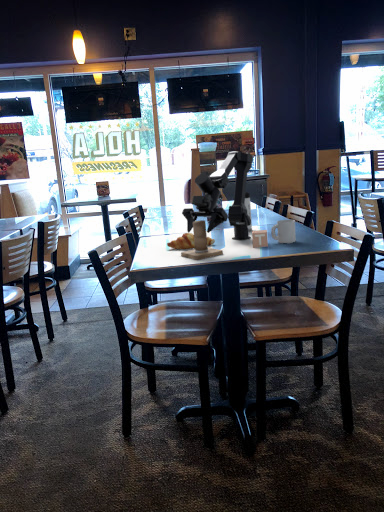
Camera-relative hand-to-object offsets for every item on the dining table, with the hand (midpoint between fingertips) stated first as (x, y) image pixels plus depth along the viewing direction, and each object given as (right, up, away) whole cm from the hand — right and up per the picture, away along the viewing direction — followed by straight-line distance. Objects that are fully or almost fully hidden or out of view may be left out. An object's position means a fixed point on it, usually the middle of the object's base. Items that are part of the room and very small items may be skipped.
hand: (197, 232), depth 161 cm
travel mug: (+25, +3, +50) cm, 56 cm away
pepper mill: (+2, -7, +3) cm, 8 cm away
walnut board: (+2, -9, +3) cm, 10 cm away
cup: (+36, -4, +13) cm, 39 cm away
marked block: (+26, -5, +11) cm, 29 cm away
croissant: (-2, -6, +21) cm, 22 cm away
